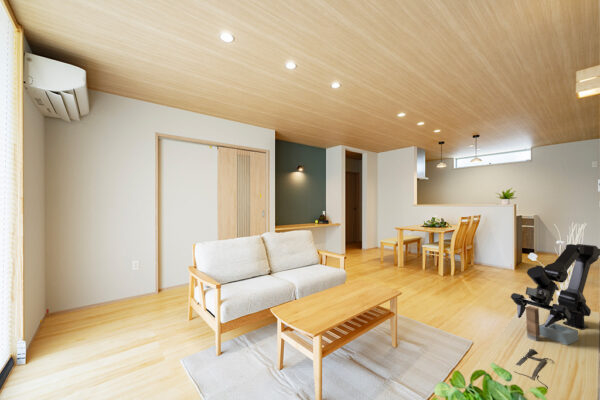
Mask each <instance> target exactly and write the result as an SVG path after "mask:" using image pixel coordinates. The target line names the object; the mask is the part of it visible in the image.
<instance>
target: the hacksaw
mask: <svg viewBox="0 0 600 400" xmlns="http://www.w3.org/2000/svg"><path fill="white" fill-rule="evenodd" d="M537 354H538V352H537V350H536V349H534V348H529V350H528V352H526V353H525V355H524V356H522V357H523V358H522V357H521V358H520V359H519V360H518V361H517V362H516V363H515V366H522V364H523V363H524V362H525V361H526V360H528V359H532V360H534V361H539V363H538V364H537V365H536V367H535V369H534V370H533V373H532V376H529V375H527V374H524V373H520V372H517V371H513V372H514V373H516V374H517V375H521V376H525V377H527V378H529V379H531V380H532V381H535V380H536V381H538V382H539V383H541V384H542V385H544V386H545V388H546V387H547V389H546V390H548V386H547V385H546V384H545V383H543V382H541V381H540V380H539V377H540V375H538V374H539V373H540V371H541V370H542V368H543V367H545V364H546V363H547V360H550V361H551V363H554V361H553V359H551V358H548V357H544V358H543V357H542V358H540V357H535V356H533V355H537ZM526 357H528V358H526ZM535 388H537V386H535Z"/></svg>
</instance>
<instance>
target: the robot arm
mask: <svg viewBox="0 0 600 400" xmlns="http://www.w3.org/2000/svg"><path fill="white" fill-rule="evenodd" d="M599 257H600V248H599V247H598V246H597V245H591V244H583V243H577V244H573V243H569V244H566V245H565V248H564V250H563V251H562V252H561V254H560V255H559V256H558V257H557V258H556V259H555V260H554V262H552V263H548V264H547V265H545V266H544V267H543V266H542V265H538V264H537V265H536V266H534V267H530V268H528V270H527V271H526V274H527V275H528V277H529V278H530V279H531V280H532V281H533V282H534V284H535V285H537V286H536V287H534V288H532V287H529V286H527V287H526V290H525V295H527V296H528V298H526V297H525V296H524V295H523V294H520V293H516V292H513V293H511V295H510V298H511V299H512V300H513V302H514V304H516V307H517V309H516V310H517V317H518V319H521V318H522V316H523V314H524V313H525V312H526V307H527V305H529V306H532V307H536V308H541V309H544V310H547V311H549V314H548V317H546V321H545V322H544V324H545V325H544V326H545V327H548V326H550V325H551V324H553V323H557V322H559V321H561V320H562V321H563V322H562V325H563V324H564V325H565V326H566V325H567V326H570V327H571V328H572V327H573V328H574V329H579V330H584V329H586V328H589V325H588V324H585V323H586V322H585V317H590V315H591V314H592V310H591V308H590V307H589V306H588V305H587V304H586V303H587V300H586V297H585V296H584V294H583V293H584V290H585V287H586V283H587V279H588V275H589V272H590V267H591V265H592V264H594V263H595V262H597V261H598V259H599ZM573 264H574V266H573V269H572V272H571V275H570V279H569V282H568V285H567V288H566V289H561V290H560V289H559V286H558V285H557V283H562V284H563V283H564V282H565V281H566V280H567V278H568V276H569V273H568V270H569V269H570V267H571V266H572V265H573ZM556 282H557V283H556ZM556 291H559V296H558V298H557V303H558V304H557V303H552V305H551V302H553V301H554V298H553V297H554V296H555V293H556Z"/></svg>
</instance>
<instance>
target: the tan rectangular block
mask: <svg viewBox="0 0 600 400" xmlns="http://www.w3.org/2000/svg"><path fill="white" fill-rule="evenodd" d="M525 307H526V309H525V317H526V318H525V319H526V333H527V334H526V335H527V336H526V337H527V339H529V340H533V341H535V342H537V341H540V340H541V335H540V328H539V325H540V313H539V308H540V307H536V306H533V305H529V306H525Z"/></svg>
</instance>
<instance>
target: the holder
mask: <svg viewBox="0 0 600 400" xmlns="http://www.w3.org/2000/svg"><path fill="white" fill-rule="evenodd" d="M544 325H545V323H542V324H539V328H540V337H541V336H542V337H544V338H547V339H550V340H552V341H555V342H557V343H560V344H564V345H566V346H569V345H572V344H573V343H575V342H577V341H579V330H578V329H576V328H572V327H568V326H566V325H563V324H560V323H559V324H558V323H557V322H555V323H553V324H551V325H550V326H548V327H545V326H544Z"/></svg>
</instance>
